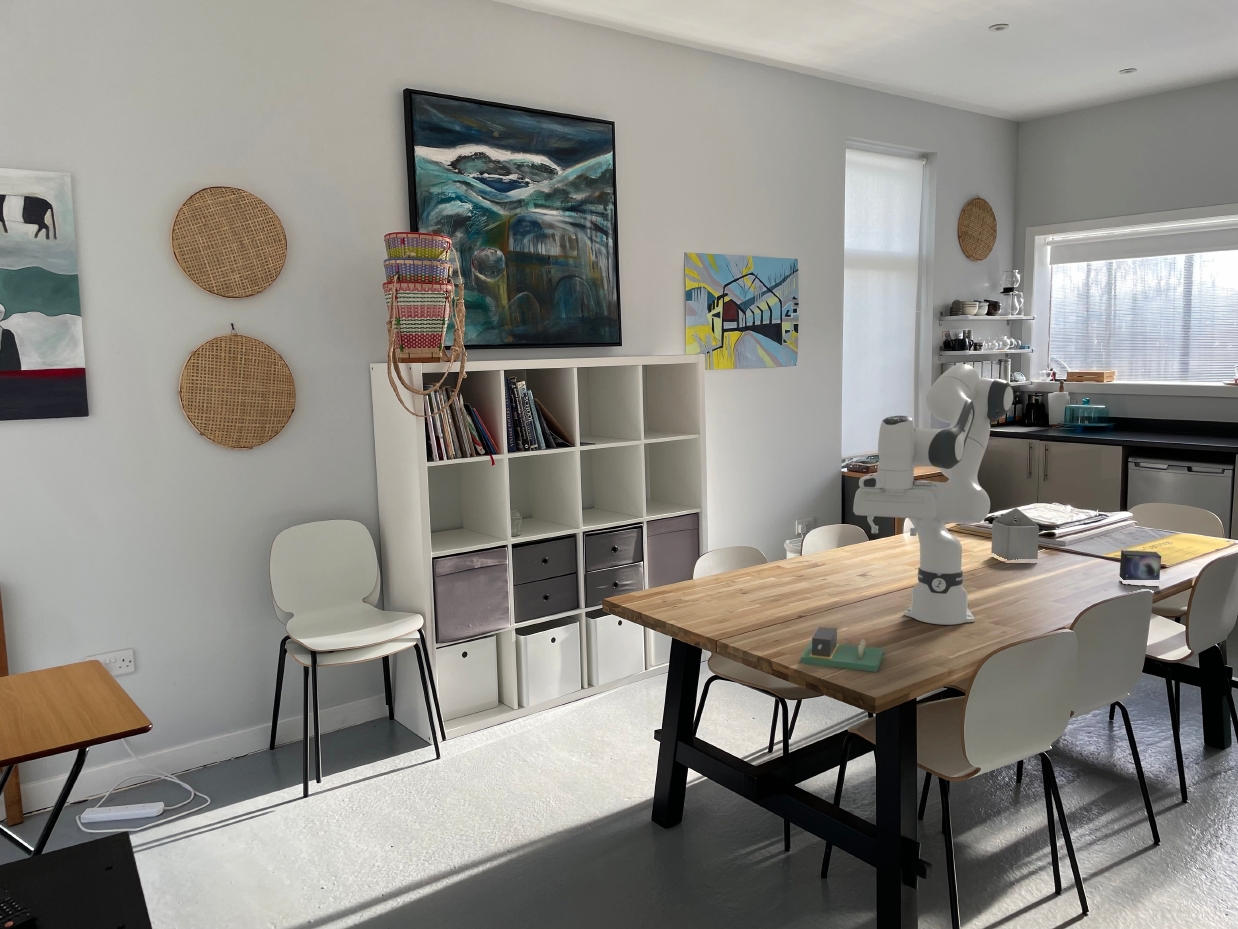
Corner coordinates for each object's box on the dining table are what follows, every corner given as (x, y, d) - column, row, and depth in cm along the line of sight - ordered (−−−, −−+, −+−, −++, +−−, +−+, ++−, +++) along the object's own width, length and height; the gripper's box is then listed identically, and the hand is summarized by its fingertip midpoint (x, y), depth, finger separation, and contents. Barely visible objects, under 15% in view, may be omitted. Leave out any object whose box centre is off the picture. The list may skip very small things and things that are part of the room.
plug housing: (819, 643, 229) (819, 626, 228) (836, 645, 227) (837, 628, 226) (809, 658, 217) (809, 641, 216) (828, 660, 215) (828, 643, 215)
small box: (1123, 585, 290) (1124, 553, 289) (1118, 580, 296) (1120, 549, 295) (1160, 587, 287) (1161, 555, 286) (1154, 582, 293) (1156, 551, 292)
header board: (811, 646, 232) (811, 629, 231) (883, 654, 225) (884, 636, 224) (800, 663, 219) (800, 645, 218) (876, 672, 212) (877, 653, 211)
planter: (983, 560, 328) (985, 508, 326) (991, 557, 334) (993, 505, 332) (1030, 567, 317) (1032, 513, 315) (1037, 563, 323) (1040, 510, 321)
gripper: (939, 480, 226) (937, 534, 227) (856, 477, 233) (855, 529, 235) (938, 483, 220) (936, 539, 221) (852, 480, 228) (851, 534, 229)
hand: (893, 534), depth 228 cm, fingers open, 8 cm apart
